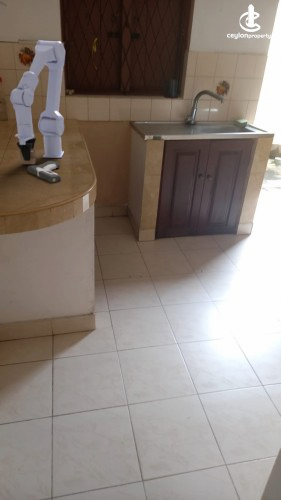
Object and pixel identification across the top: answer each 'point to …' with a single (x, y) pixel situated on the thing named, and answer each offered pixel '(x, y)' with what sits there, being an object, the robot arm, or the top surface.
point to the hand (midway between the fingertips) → (28, 158)
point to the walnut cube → (32, 158)
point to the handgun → (46, 171)
